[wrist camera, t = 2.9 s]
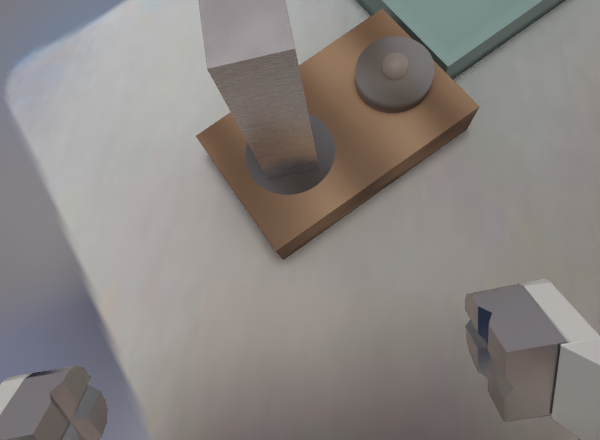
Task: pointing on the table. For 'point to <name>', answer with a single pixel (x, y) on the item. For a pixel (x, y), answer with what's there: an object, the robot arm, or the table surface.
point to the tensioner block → (348, 131)
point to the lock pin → (260, 81)
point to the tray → (461, 25)
